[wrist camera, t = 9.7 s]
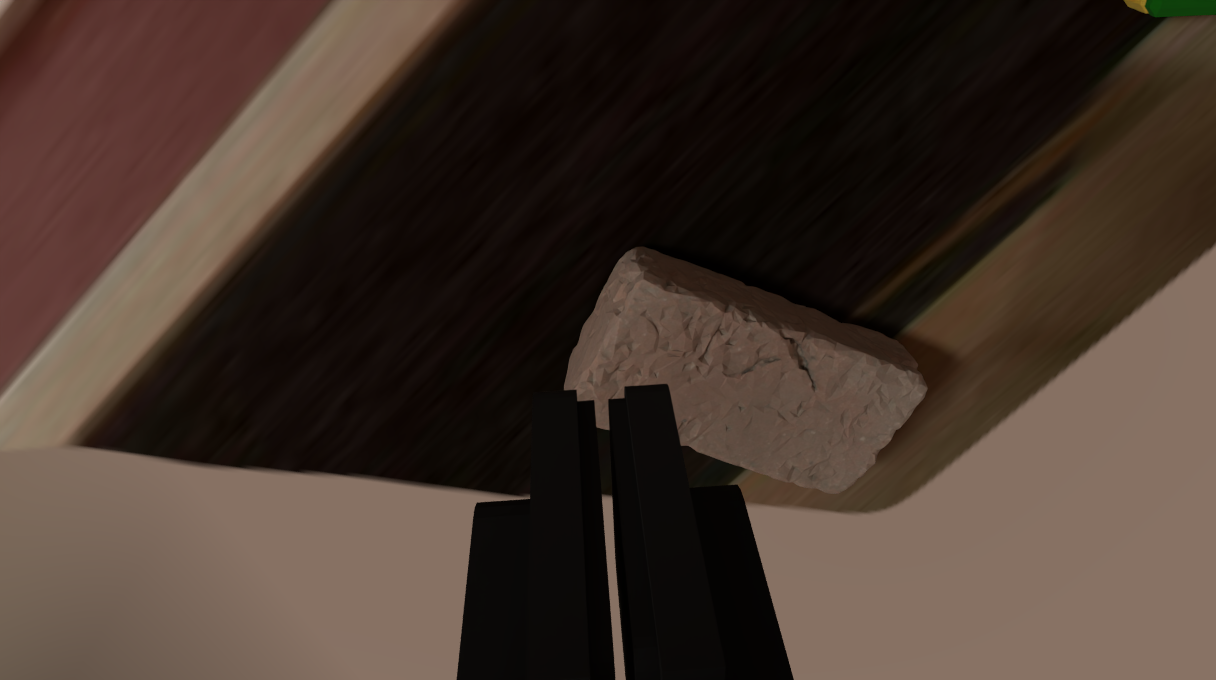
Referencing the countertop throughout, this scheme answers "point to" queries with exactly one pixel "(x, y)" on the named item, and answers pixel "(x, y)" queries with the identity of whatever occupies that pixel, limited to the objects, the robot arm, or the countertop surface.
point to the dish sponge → (1174, 7)
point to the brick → (746, 371)
